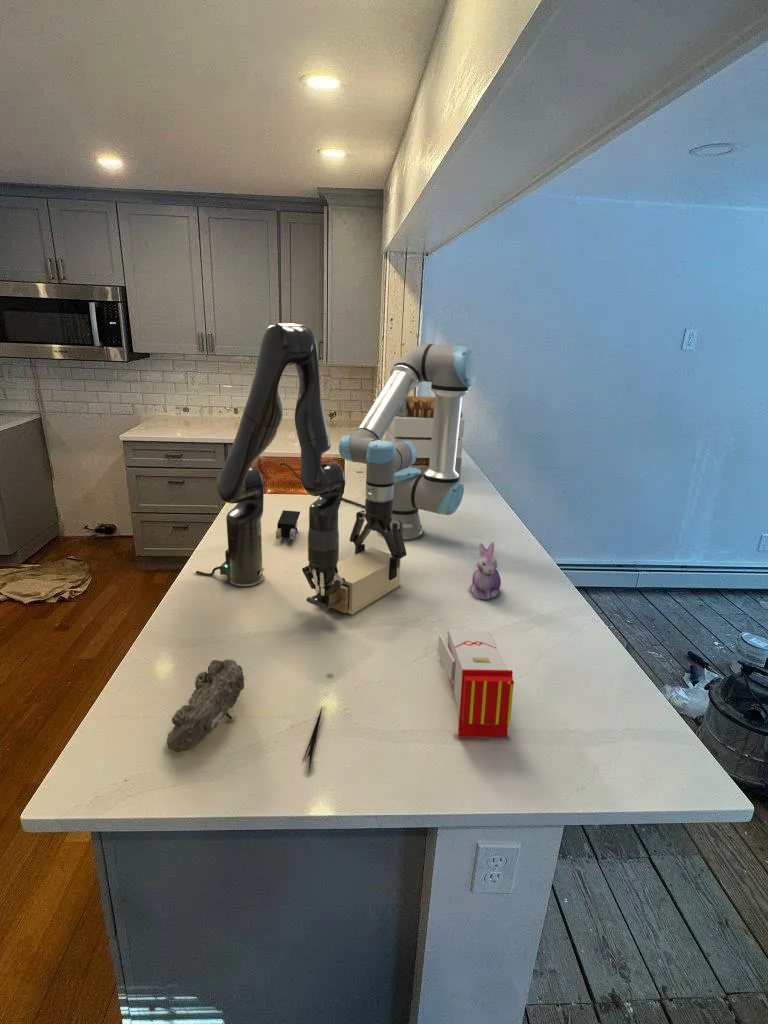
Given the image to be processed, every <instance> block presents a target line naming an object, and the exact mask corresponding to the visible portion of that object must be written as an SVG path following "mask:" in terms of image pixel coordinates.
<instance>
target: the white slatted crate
mask: <svg viewBox="0 0 768 1024" xmlns="http://www.w3.org/2000/svg"><path fill="white" fill-rule="evenodd" d="M434 405H435V396H415V395H414V396H413V395H412V396H411V395H408V396H407V397H406V399H405V401H404V402H403V404H402V406H401V407H400V409H399V411H398V412H397V414H396V416H395V417H394V419H393V421H392V422H391V424H390V426H389V427H388V429H387V431H386V432H385V438H384V441H390V442H399V441H409V442H411V443H412V444H413V445H414V446H415V448H416V450H417V459H416V461H415V462H414V463H413V464H412V465H410V466H409V467H417V466H418V467H429V462H430V451H431V439H432V428H433V417H434ZM464 429H465V419H464V418H463V411H461V416H460V426H459V435H458V445H457V455H456V465H455V471H456V472H457V473H458V474H459V482H461V472H462V461H463V460H462V453H463V442H464V441H463V440H462V439H463V438H464V431H465V430H464Z"/></svg>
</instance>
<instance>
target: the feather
mask: <svg viewBox="0 0 768 1024" xmlns="http://www.w3.org/2000/svg"><path fill="white" fill-rule="evenodd" d="M329 675H330V676H331V675H332V674H331V673H330V674H329ZM322 710H323V707H321V708H320V710H319V713H318V716H317V719H316V723H315V725H314V728H313V731H312V733H311V737H310V739H309V742H308V745H307V748H306V751H305V754H304V757H303V760H302V763H301V767H302V765H303V763H304V761H305V758H308V759H309V760H308V762H307V763H308V764H307V766H308V771H310V770H311V766H312V765H311V764H312V760H313V757H315V756H314V755H315V751H316V749H315V746H317V739H318V733H319V729H320V722H321V717H322V712H323V711H322ZM313 754H314V755H313ZM306 755H307V757H306Z"/></svg>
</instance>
